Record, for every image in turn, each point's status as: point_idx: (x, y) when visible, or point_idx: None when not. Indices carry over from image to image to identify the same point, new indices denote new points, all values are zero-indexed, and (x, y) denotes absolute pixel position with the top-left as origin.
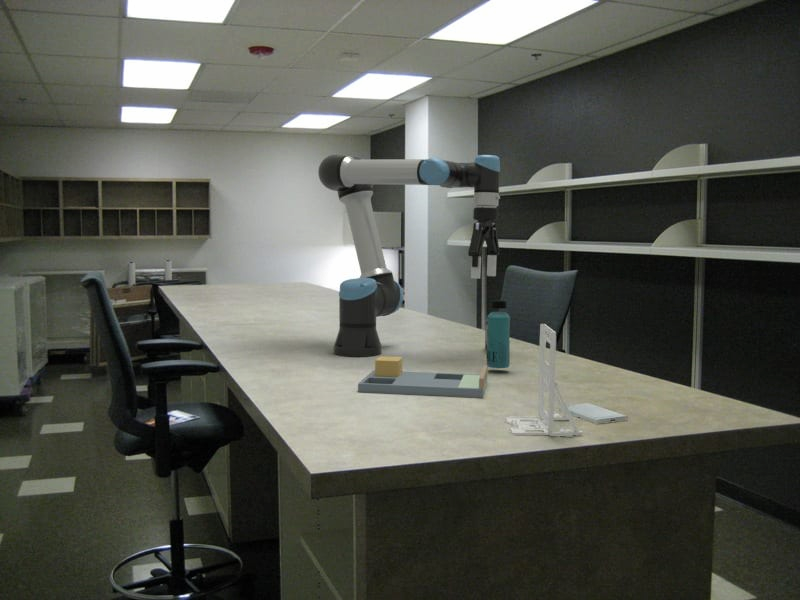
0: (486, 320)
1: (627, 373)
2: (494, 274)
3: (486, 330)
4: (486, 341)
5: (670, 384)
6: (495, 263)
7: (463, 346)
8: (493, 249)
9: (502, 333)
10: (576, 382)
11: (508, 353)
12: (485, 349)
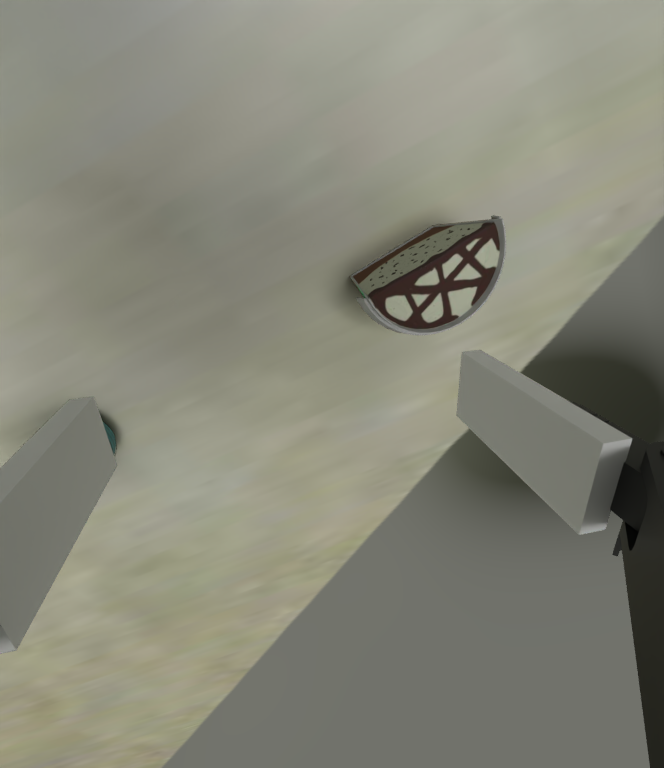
0: (498, 224)
1: (280, 620)
2: (464, 417)
3: (442, 242)
4: (417, 244)
5: (221, 693)
6: (519, 474)
7: (459, 118)
8: (635, 583)
9: None
10: (109, 602)
11: None
12: (421, 232)
